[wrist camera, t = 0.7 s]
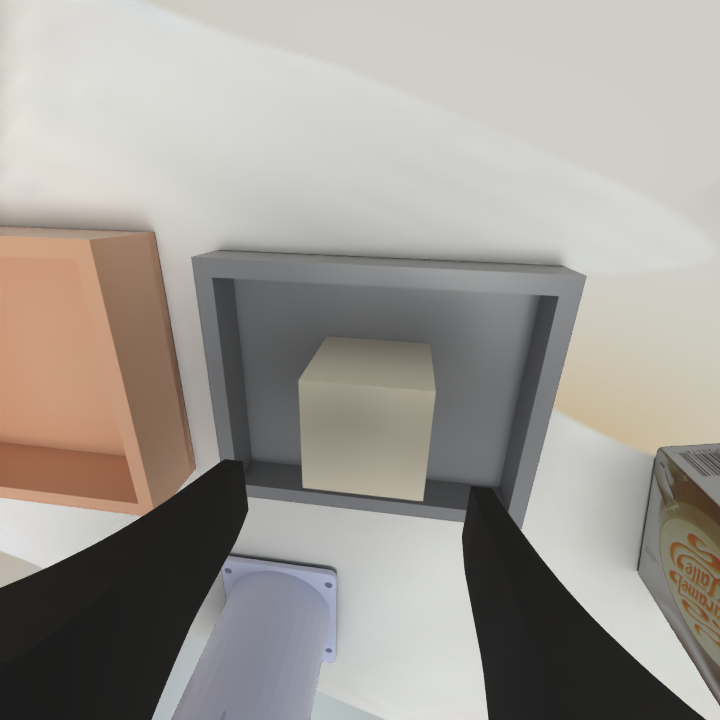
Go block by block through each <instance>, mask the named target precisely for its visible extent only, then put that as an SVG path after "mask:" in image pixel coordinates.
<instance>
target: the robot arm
mask: <svg viewBox="0 0 720 720" xmlns="http://www.w3.org/2000/svg"><path fill="white" fill-rule="evenodd" d="M247 512H248V501H247V493H246V484H245V475H244V466H243V461H239V460H230V459H224V460H223V461H221V462H220V463H218V464H217V465H216V466H214V467H213V468H211V469H210V470H209V471H207V472H206V473H204V474H203V475H202V476H200V477H199V478H198V479H196V480H195V481H193V482H192V483H191V484H189V485H188V486H186V487H185V488H184V489H182V490H181V491H179V492H178V493H177V494H175V495H174V496H172V497H171V498H170V499H168V500H167V501H165V502H164V503H162V504H160V505H159V506H157V507H156V508H154V509H153V510H151V511H150V512H148V513H147V514H145V515H144V516H142V517H141V518H139V519H138V520H136V521H134V522H133V523H131V524H129V525H128V526H126V527H124V528H123V529H121V530H119V531H118V532H116V533H114V534H112V535H110V536H109V537H107V538H105V539H103V540H102V541H100V542H98V543H96V544H94V545H92V546H90V547H88V548H86V549H84V550H82V551H80V552H78V553H76V554H74V555H72V556H70V557H68V558H66V559H64V560H62V561H60V562H58V563H56V564H54V565H52V566H50V567H48V568H45V569H43V570H41V571H39V572H37V573H34V574H32V575H30V576H28V577H25V578H23V579H21V580H18V581H16V582H13V583H11V584H8V585H6V586H4V587H1V588H0V720H151V719H152V717H153V714H154V712H155V709H156V707H157V704H158V702H159V699H160V697H161V694H162V692H163V689H164V687H165V685H166V682H167V680H168V677H169V675H170V672H171V670H172V668H173V665H174V663H175V661H176V658H177V656H178V654H179V651H180V649H181V647H182V645H183V642H184V640H185V638H186V635H187V633H188V631H189V629H190V626H191V624H192V622H193V620H194V618H195V616H196V614H197V612H198V610H199V609H200V607H201V605H202V603H203V601H204V599H205V598H206V596H207V594H208V592H209V590H210V588H211V587H212V585H213V583H214V581H215V579H216V577H217V576H218V574H219V572H220V570H221V569H222V575H223V581H224V587H225V593H226V599H227V602H226V604H225V606H224V608H223V610H222V612H221V614H220V616H219V619H218V621H217V623H216V625H215V627H214V629H213V631H212V634H211V636H210V638H209V640H208V642H207V644H206V646H205V649H204V651H203V653H202V655H201V657H200V659H199V662H198V663H197V666H196V668H195V670H194V672H193V674H192V677H191V678H190V681H189V683H188V685H187V687H186V689H185V691H184V693H183V695H182V698H181V700H180V702H179V704H178V706H177V708H176V710H175V713H174V715H173V717H172V719H171V720H310V717H311V712H312V707H313V702H314V697H315V692H316V687H317V682H318V677H319V672H320V667H321V662H328V663H332V662H334V661H335V660H336V630H337V575H336V573H335V572H334V571H332V570H328V569H321V568H313V567H306V566H299V565H291V564H284V563H277V562H270V561H262V560H255V559H248V558H241V557H233V556H228V555H229V553H230V552H231V550H232V548H233V546H234V544H235V542H236V540H237V538H238V535H239V533H240V530H241V528H242V525H243V523H244V520H245V518H246V515H247ZM462 544H463V557H464V568H465V575H466V580H467V586H468V591H469V596H470V602H471V607H472V612H473V617H474V622H475V628H476V633H477V638H478V643H479V648H480V653H481V660H482V666H483V673H484V681H485V690H486V700H487V709H488V718H489V720H706V719H704V718H703V717H702V716H701V715H699V714H698V713H697V712H696V711H694V710H693V709H692V708H691V707H689V706H688V705H687V704H686V703H685V702H683V701H682V700H681V699H680V698H679V697H678V696H677V695H675V694H674V693H673V692H672V691H671V690H670V689H668V688H667V687H666V686H665V685H664V684H663V683H661V682H660V681H659V680H658V679H657V678H656V677H654V676H653V675H652V674H651V673H650V672H649V671H648V670H647V669H646V668H644V667H643V666H642V665H641V664H640V663H639V662H638V661H637V660H636V659H635V658H634V657H633V656H632V655H630V654H629V653H628V652H627V651H626V650H625V649H624V648H623V647H622V646H621V645H620V644H619V643H618V642H617V641H616V640H615V639H614V638H613V637H612V636H611V635H609V634H608V633H607V632H606V631H605V630H604V629H603V628H602V627H601V626H600V625H599V624H598V623H597V622H596V621H595V620H594V619H593V618H592V617H591V615H590V614H589V613H588V612H587V611H586V610H585V609H584V608H583V607H582V606H581V605H580V604H579V602H578V601H577V600H576V599H575V598H574V597H573V596H572V595H571V594H570V592H569V591H568V590H567V589H566V588H565V587H564V586H563V584H562V583H561V582H560V581H559V580H558V578H557V577H556V576H555V575H554V573H553V572H552V571H551V570H550V569H549V567H548V566H547V565H546V564H545V562H544V561H543V560H542V559H541V557H540V556H539V555H538V553H537V552H536V551H535V549H534V548H533V547H532V545H531V544H530V543H529V541H528V540H527V539H526V537H525V536H524V534H523V533H522V532H521V530H520V529H519V527H518V526H517V525H516V523H515V522H514V520H513V519H512V517H511V516H510V514H509V513H508V511H507V510H506V508H505V507H504V505H503V504H502V502H501V501H500V499H499V497H498V496H497V494H496V493H495V491H494V490H493V489H492V488H487V487H477V486H471V488H470V494H469V499H468V505H467V511H466V516H465V522H464V527H463V533H462Z"/></svg>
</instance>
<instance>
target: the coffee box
mask: <svg viewBox="0 0 720 720" xmlns="http://www.w3.org/2000/svg"><path fill="white" fill-rule="evenodd" d="M638 574H639V576H640V578H641V579H642V581H643V582H644V584H645V585H646V587H647V589H648V590H649V592H650V593H651V595H652V597H653V598H654V600H655V602H656V603H657V605H658V607H659V608H660V610H661V612H662V613H663V615H664V617H665V618H666V620H667V621H668V623H669V625H670V627H671V628H672V630H673V631H674V633H675V634H676V636H677V638H678V640H679V641H680V642H681V644H682V646H683V647H684V649H685V650H686V652H687V654H688V655H689V657H690V658H691V660H692V662H693V663H694V665H695V666H696V668H697V670H698V671H699V673H700V675H701V677H702V678H703V680H704V681H705V683H706V685H707V686H708V688H709V690H710V691H711V693H712V694H713V696H714V698H715V699H716V701H717V702H718V704H719V705H720V444H704V445H689V446H670V447H661V448H659V449H658V450H657V455H656V461H655V468H654V474H653V480H652V486H651V493H650V500H649V506H648V512H647V519H646V525H645V532H644V538H643V545H642V552H641V558H640V565H639V573H638Z"/></svg>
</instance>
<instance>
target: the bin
mask: <svg viewBox="0 0 720 720" xmlns="http://www.w3.org/2000/svg"><path fill="white" fill-rule="evenodd" d="M195 469H196V468H195V462H194V456H193V450H192V445H191V439H190V433H189V428H188V422H187V416H186V410H185V405H184V399H183V393H182V388H181V382H180V376H179V370H178V365H177V359H176V353H175V348H174V342H173V336H172V330H171V325H170V319H169V313H168V307H167V302H166V296H165V290H164V285H163V279H162V273H161V267H160V262H159V256H158V250H157V245H156V239H155V233H154V232H139V231H115V230H90V229H66V228H41V227H17V226H0V498H8V499H16V500H24V501H31V502H39V503H47V504H55V505H62V506H70V507H78V508H86V509H93V510H101V511H109V512H117V513H124V514H132V515H140V516H144V515H145V514H147V513H148V512H150V511H151V510H153V509H154V508H156V507H157V506H159V505H160V504H162V503H164V502H165V501H167V500H168V499H170V498H171V497H172V496H174V494H175V493H176V492H177V491H178V490H179V488H180V487H181V486H182V485H183V483H184V482H185V481H186V480H187V479H188V477H189V476H190V475H191V474H192V472H193V471H194V470H195Z"/></svg>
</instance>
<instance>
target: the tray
mask: <svg viewBox="0 0 720 720" xmlns="http://www.w3.org/2000/svg"><path fill="white" fill-rule="evenodd" d="M191 258H192V265H193V272H194V279H195V286H196V293H197V300H198V307H199V314H200V321H201V328H202V335H203V343H204V350H205V357H206V364H207V371H208V378H209V385H210V392H211V399H212V406H213V413H214V420H215V427H216V434H217V441H218V448H219V455H220V462H221V461H223V460H224V459H230V460H239V461H243V466H244V475H245V484H246V493H247V497H255V498H264V499H272V500H280V501H289V502H297V503H306V504H314V505H322V506H331V507H339V508H348V509H356V510H364V511H373V512H381V513H390V514H398V515H406V516H415V517H423V518H431V519H440V520H448V521H457V522H465V516H466V511H467V505H468V499H469V494H470V488H471V486H477V487H487V488H492V489H493V490H494V491H495V493H496V494H497V496H498V497H499V499H500V501H501V502H502V504H503V505H504V507H505V508H506V510H507V511H508V513H509V514H510V516H511V517H512V519H513V520H514V522H515V523H516V525H517V526H518V527H519V529H522V525H523V521H524V517H525V513H526V509H527V505H528V501H529V498H530V494H531V490H532V486H533V482H534V478H535V474H536V470H537V467H538V463H539V459H540V455H541V451H542V447H543V443H544V439H545V435H546V432H547V428H548V424H549V420H550V416H551V412H552V408H553V404H554V401H555V396H556V392H557V389H558V385H559V381H560V377H561V373H562V369H563V366H564V362H565V357H566V354H567V350H568V346H569V342H570V338H571V335H572V330H573V327H574V323H575V319H576V315H577V311H578V307H579V303H580V300H581V296H582V292H583V288H584V284H585V280H586V276H585V275H583V274H581V273H578V272H576V271H574V270H571V269H569V268H567V267H564V266H557V265H535V264H513V263H491V262H469V261H447V260H426V259H404V258H382V257H360V256H338V255H316V254H294V253H272V252H250V251H228V250H218V251H214V252H210V253H206V254H202V255H198V256H194V257H191ZM327 336H329V337H344V338H358V339H373V340H387V341H401V342H416V343H430V346H431V354H432V363H433V371H434V380H435V388H436V395H435V404H434V412H433V421H432V429H431V438H430V446H429V455H428V463H427V472H426V480H425V488H424V497H423V501H414V500H406V499H397V498H388V497H379V496H371V495H362V494H353V493H345V492H336V491H327V490H318V489H310V488H303V484H302V459H301V434H300V409H299V385H298V380H299V379H300V377H301V376H302V374H303V372H304V371H305V369H306V368H307V366H308V365H309V363H310V362H311V360H312V358H313V357H314V355H315V354H316V352H317V351H318V349H319V348H320V346H321V345H322V343H323V341H324V340H325V338H326V337H327Z"/></svg>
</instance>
